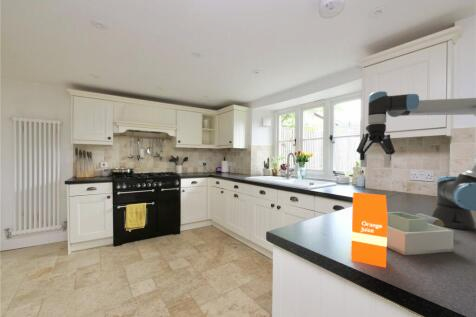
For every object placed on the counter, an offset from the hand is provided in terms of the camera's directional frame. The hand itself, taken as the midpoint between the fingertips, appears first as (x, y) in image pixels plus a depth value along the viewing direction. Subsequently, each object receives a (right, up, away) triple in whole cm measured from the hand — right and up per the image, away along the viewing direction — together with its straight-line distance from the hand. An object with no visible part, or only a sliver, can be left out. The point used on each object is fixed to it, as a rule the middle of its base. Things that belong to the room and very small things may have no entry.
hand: (375, 167), depth 106 cm
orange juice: (-28, -27, -40) cm, 56 cm away
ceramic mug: (+13, -28, -15) cm, 34 cm away
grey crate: (-7, -27, -26) cm, 38 cm away
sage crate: (-6, -26, -26) cm, 38 cm away
